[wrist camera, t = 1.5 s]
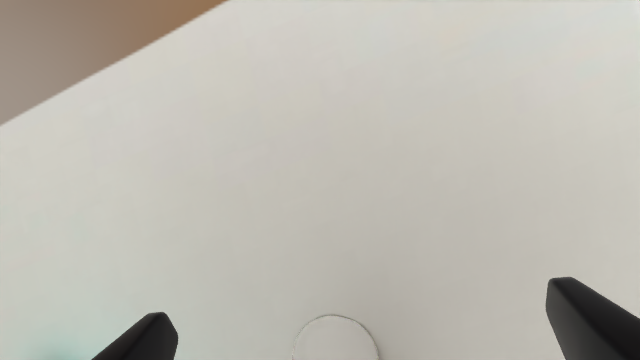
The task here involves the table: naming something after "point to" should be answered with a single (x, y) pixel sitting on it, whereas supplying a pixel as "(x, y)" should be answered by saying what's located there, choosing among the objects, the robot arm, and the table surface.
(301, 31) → the table surface
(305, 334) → the beer glass
